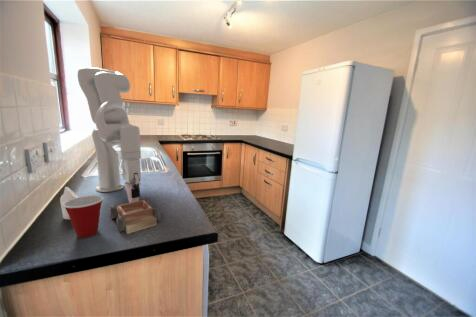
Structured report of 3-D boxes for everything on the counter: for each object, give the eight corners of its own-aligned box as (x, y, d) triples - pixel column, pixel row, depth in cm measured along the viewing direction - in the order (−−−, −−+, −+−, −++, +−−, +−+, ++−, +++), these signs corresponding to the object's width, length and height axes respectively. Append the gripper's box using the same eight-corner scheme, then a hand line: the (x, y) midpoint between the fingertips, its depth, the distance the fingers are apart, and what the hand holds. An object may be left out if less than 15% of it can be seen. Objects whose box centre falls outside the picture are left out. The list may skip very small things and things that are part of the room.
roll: (79, 186, 81) (60, 190, 76) (83, 216, 83) (64, 221, 79) (74, 182, 84) (56, 186, 80) (78, 211, 87) (60, 216, 83)
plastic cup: (103, 221, 80) (100, 191, 78) (109, 234, 72) (106, 201, 70) (65, 231, 73) (61, 197, 71) (68, 246, 65) (63, 209, 63)
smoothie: (125, 207, 92) (123, 175, 89) (125, 201, 98) (123, 171, 95) (142, 204, 95) (140, 174, 92) (141, 199, 101) (139, 170, 98)
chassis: (109, 215, 85) (108, 202, 84) (145, 206, 94) (144, 194, 93) (121, 235, 72) (120, 220, 71) (161, 223, 81) (161, 210, 80)
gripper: (116, 152, 96) (119, 190, 100) (127, 159, 83) (130, 203, 87) (134, 150, 101) (136, 187, 104) (147, 157, 88) (149, 199, 92)
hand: (133, 194), depth 96 cm, fingers closed on smoothie, 6 cm apart
